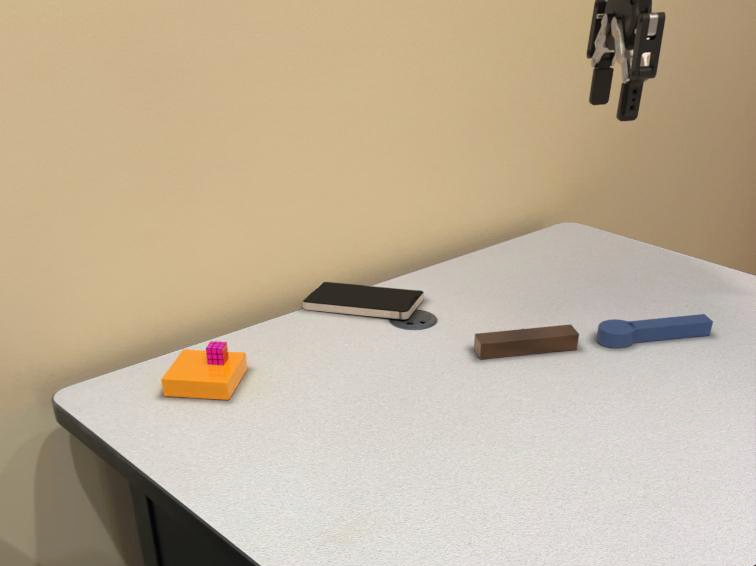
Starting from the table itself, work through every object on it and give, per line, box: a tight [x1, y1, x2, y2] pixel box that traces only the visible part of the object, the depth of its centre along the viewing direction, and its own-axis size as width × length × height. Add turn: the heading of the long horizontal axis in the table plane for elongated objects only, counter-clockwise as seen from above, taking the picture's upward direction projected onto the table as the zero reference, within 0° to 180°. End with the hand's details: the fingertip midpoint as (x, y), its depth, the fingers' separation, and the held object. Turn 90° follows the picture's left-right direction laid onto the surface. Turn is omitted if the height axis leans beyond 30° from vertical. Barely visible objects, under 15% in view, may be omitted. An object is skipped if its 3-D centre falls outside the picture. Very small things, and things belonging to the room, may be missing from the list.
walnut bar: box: [473, 324, 580, 360], centre depth 108 cm, size 12×3×2 cm, turn 96°
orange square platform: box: [160, 340, 248, 401], centre depth 105 cm, size 8×8×4 cm
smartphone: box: [302, 281, 425, 320], centre depth 122 cm, size 8×1×15 cm
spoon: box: [595, 313, 714, 349], centre depth 109 cm, size 14×4×2 cm, turn 96°
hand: (611, 112), depth 103 cm, fingers open, 8 cm apart
